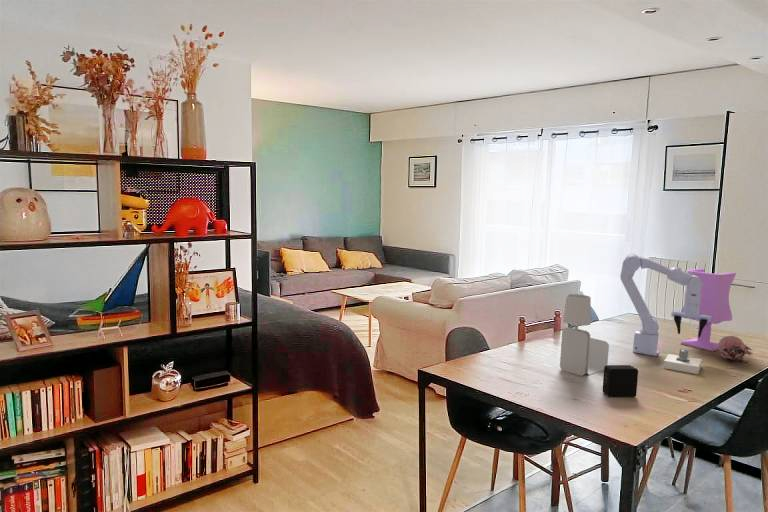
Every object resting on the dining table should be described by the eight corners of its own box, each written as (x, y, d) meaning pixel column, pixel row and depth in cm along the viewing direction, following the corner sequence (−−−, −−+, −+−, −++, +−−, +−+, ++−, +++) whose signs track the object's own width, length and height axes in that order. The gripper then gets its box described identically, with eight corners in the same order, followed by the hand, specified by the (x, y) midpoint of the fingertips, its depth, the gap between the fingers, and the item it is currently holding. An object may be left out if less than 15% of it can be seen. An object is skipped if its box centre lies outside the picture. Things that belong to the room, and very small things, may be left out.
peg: (677, 367, 219) (678, 350, 218) (679, 365, 221) (680, 348, 220) (685, 368, 217) (687, 351, 216) (687, 367, 219) (688, 350, 219)
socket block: (663, 367, 218) (664, 360, 217) (667, 360, 227) (668, 353, 227) (698, 374, 211) (698, 366, 210) (700, 366, 221) (701, 359, 220)
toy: (760, 365, 219) (750, 353, 233) (753, 340, 219) (744, 330, 233) (727, 370, 224) (719, 358, 238) (720, 345, 224) (713, 335, 237)
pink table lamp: (729, 347, 251) (736, 272, 247) (712, 352, 242) (720, 274, 238) (694, 339, 264) (700, 268, 260) (677, 343, 255) (684, 270, 251)
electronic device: (602, 393, 188) (604, 365, 187) (629, 392, 189) (631, 365, 187) (608, 397, 184) (610, 369, 182) (636, 397, 184) (638, 368, 183)
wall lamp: (607, 368, 216) (612, 293, 212) (579, 379, 202) (584, 299, 198) (582, 361, 223) (587, 289, 220) (554, 371, 210) (559, 295, 206)
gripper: (671, 302, 231) (668, 334, 233) (711, 307, 223) (707, 339, 225) (673, 300, 237) (671, 330, 238) (712, 305, 229) (709, 336, 230)
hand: (689, 335), depth 232 cm, fingers open, 7 cm apart
